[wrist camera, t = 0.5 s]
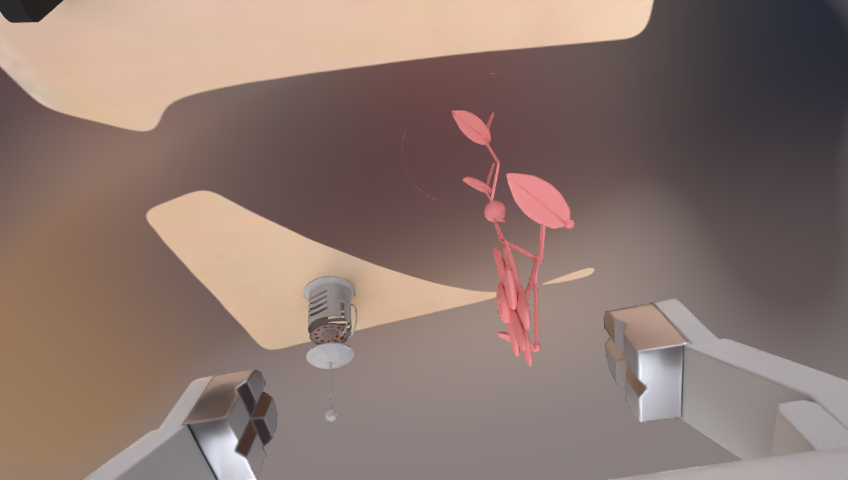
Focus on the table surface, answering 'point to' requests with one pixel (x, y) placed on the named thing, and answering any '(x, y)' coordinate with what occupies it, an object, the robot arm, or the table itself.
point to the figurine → (539, 206)
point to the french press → (329, 325)
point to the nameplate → (27, 9)
